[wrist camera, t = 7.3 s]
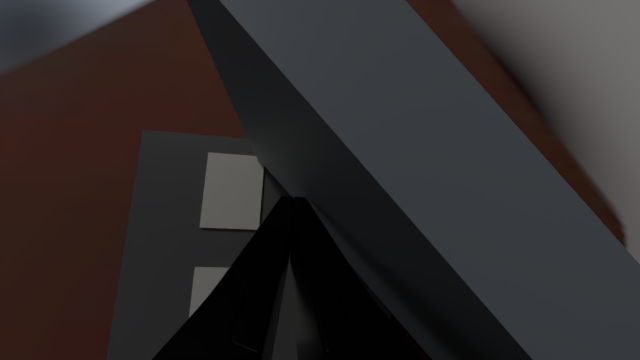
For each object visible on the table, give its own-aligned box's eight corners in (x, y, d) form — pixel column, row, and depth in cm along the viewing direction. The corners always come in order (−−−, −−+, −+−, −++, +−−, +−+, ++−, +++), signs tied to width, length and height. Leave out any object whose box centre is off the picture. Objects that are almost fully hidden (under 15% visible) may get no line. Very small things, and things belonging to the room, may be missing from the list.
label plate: (383, 357, 15) (392, 369, 14) (116, 365, 13) (100, 380, 12) (384, 155, 17) (392, 150, 15) (152, 135, 15) (140, 128, 13)
